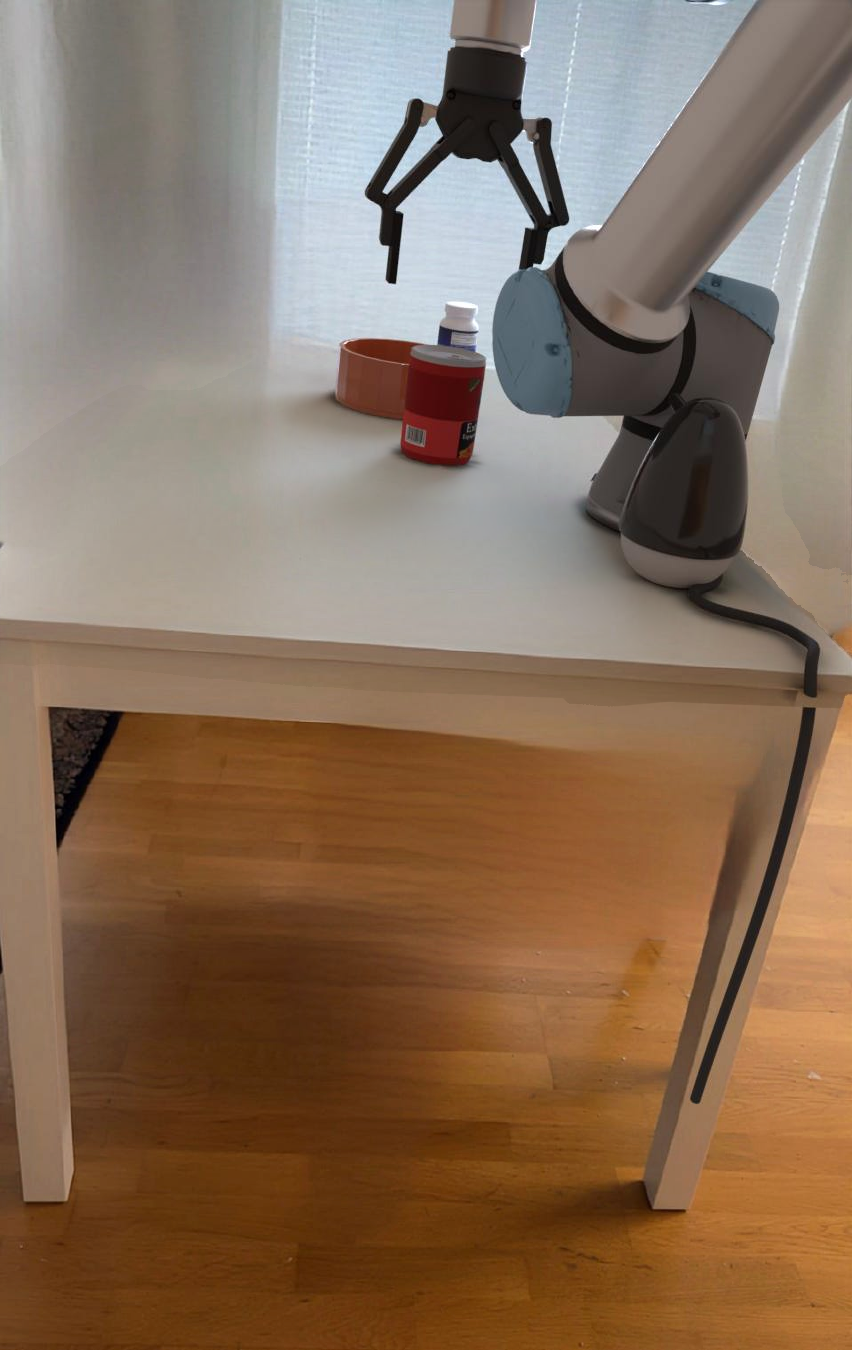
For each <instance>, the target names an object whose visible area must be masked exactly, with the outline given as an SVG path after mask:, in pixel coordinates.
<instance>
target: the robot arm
mask: <svg viewBox="0 0 852 1350" xmlns="http://www.w3.org/2000/svg"><path fill="white" fill-rule="evenodd" d="M537 1H538V0H453V8H452V15H451V23H450V31H449V38H450V39H451V40H452V41H453V42H455V44H454V46H452V47H450V48H449V50H447V54H446V63H445V64H446V65H445V70H444V71H445V73H444V80H443V87H442V89H443V90H442V96H441V98H440V101H439V103H438V104H437V105H436V104H432V103H428V102H424V101H423V100H422V98H415V97H414V98H411V99H410V100H409V101H407V107H406V110H405V116H404V121H403V124H402V125H401V127H400V129H399V131H398V132H397V135H396V136H395V138H394V140H393V141H392V142H391V144H390V146H389V148H388V150H387V152H386V153H385V155H384V156H383V158H382V160H381V162H380V163H379V165H378V167H377V168H376V170H375V172H374V174H373V175H372V177H371V179H370V181H368V184H367V186H366V187H365V189H364V196H365V198H366V199H367V200H369V201H370V202H372V203H374V204H376V205H378V206H379V208H380V210H381V215H380V224H379V233H378V239H379V240H378V241H379V244H380V245H381V246H383V247H384V246H385V247H388V252H387V261H386V271H385V281H386V282H387V283H388V284H390V285H397V278H398V270H399V263H400V262H399V260H400V253H401V252H400V251H401V243H402V242H401V241H402V235H403V226H404V225H403V223H404V213H403V212H402V211H400V210H397V208H398V207H399V206H400V205H401V204H402V203H403V202H404V201H405V200H406V199H407V198H408V197H409V196H410V195H411V194H412V193H413V192H414V191H415V190H416V189H417V188H418V187H419V186H420V185H421V183H422V182H423V181H425V180H426V179H427V177H429V176H430V174H432V172H433V171H435V169H437V167H438V166H439V165H440V164H441V163H443V162H444V161H445V160H446V159H447V158H448V157H450V155H453V156H454V157H456V158H457V159H461V160H463V159H464V160H474V159H475V160H477V161H480V162H484V163H485V162H486V163H493V162H495V161H497V162H498V164H499V166H500V167H501V168H502V169H503V170H504V173H505V175H506V177H507V178H508V180H509V182H510V184H511V186H512V187H513V190H514V191H515V193H516V195H517V197H518V199H519V201H520V202H521V204H522V206H523V208H524V210H525V211H526V214H527V215H528V217H529V219H530V221H531V222H532V225H533V227H524V233H523V239H522V246H521V252H520V258H519V265H518V270H517V271H515V272H513V273H512V274H511V275H510V276H509V277H508V278H507V279H506V281H504V284H503V286H502V287H501V289H500V292H499V294H498V296H497V299H496V302H495V307H494V311H493V317H492V326H491V327H492V329H491V333H492V334H491V335H492V343H491V344H492V356H493V362H494V363H493V364H494V368H495V371H496V375H497V378H498V381H499V384H500V386H501V388H502V390H503V393H504V394H505V396H506V398H507V399H508V400H509V402H510V403H511V404H512V405H513V406H514V407H515V408H517V410H520V412H521V411H522V412H524V413H526V414H529V415H535V416H536V415H538V416H549V417H551V418H553V419H560V418H563V417H621V416H622V421H621V426H620V430H619V433H618V435H617V438H616V440H615V441H614V443H613V445H612V446H611V448H610V450H609V452H608V454H607V455H606V456H605V458H604V461H603V463H602V464H601V466H600V468H599V470H598V471H597V473H594V474H593V476H592V478H591V479H590V481H589V482H590V483H591V484H590V487H589V489H588V492H587V498H586V503H585V509H586V512H587V513H588V514H589V515H590V516H591V517H592V518H593V519H595V520H596V521H597V522H599V523H601V524H603V525H605V526H607V527H608V528H610V529H613V530H615V531H617V532H620V530H619V527H618V525H619V519H620V515H621V512H622V508H623V506H624V503H625V500H626V497H627V495H628V492H629V489H630V487H631V484H632V482H633V480H634V477H635V475H636V473H637V471H638V469H639V467H640V465H641V463H642V461H643V459H644V457H645V455H646V453H647V452H648V450H649V448H650V446H651V444H652V443H653V441H654V439H655V438H656V436H657V435H658V433H659V432H660V430H661V429H662V427H663V426H664V424H665V423H666V422H667V421H668V419H669V418H670V417H671V416H672V415H673V414H674V411H673V409H672V408H671V406H670V404H669V402H668V398H669V396H670V395H671V394H672V393H679V394H680V395H681V397H682V398H683V399H684V400H685V401H686V402H688V401H691V400H693V399H696V398H701V397H712V398H717V399H719V400H722V401H724V402H725V403H727V404H728V405H729V406H731V407H732V408H733V410H734V411H735V412H736V414H737V415H738V418H739V420H740V423H741V426H742V429H743V432H744V437H745V442H747V439H748V435H749V431H750V427H751V423H752V420H753V416H754V413H755V409H756V406H757V401H758V398H759V395H760V392H761V387H762V384H763V380H764V377H765V373H766V369H767V366H768V362H769V358H770V354H771V351H772V347H773V345H774V344H775V342H776V341H775V340H776V335H775V332H776V326H777V322H778V317H779V312H780V301H779V299H778V296H777V295H776V293H775V292H774V291H773V290H772V289H770V288H768V287H766V286H762V285H758V284H755V283H751V282H748V281H744V280H740V279H737V278H734V277H729V276H725V275H722V274H718V273H714V272H710V271H709V270H710V269H711V268H712V267H713V266H714V264H715V263H716V261H717V260H718V259H719V258H720V257H721V256H722V254H724V252H725V251H726V250H727V248H729V246H730V245H731V244H732V242H733V241H735V239H736V238H737V237H738V236H739V234H740V233H741V232H742V230H743V229H744V228H746V226H747V225H748V223H749V222H750V221H751V220H752V219H753V217H754V216H755V215H756V214H757V213H758V211H760V209H761V208H762V207H763V205H764V204H765V203H766V202H767V200H768V199H769V198H770V197H771V196H772V194H773V193H774V192H775V191H776V190H777V189H778V187H780V185H781V184H782V182H784V180H785V179H786V178H787V176H788V175H790V173H791V172H792V171H793V169H794V168H795V167H796V166H797V164H799V162H800V161H801V160H802V159H803V158H804V156H805V155H806V154H807V153H808V151H809V150H810V149H811V148H812V147H813V145H814V144H815V143H816V142H817V141H818V140H819V138H820V137H821V136H822V135H823V133H824V132H825V131H826V130H827V129H828V127H830V125H831V124H832V123H833V122H834V120H835V119H836V118H837V117H838V116H839V114H840V113H841V112H842V111H843V110H844V108H845V107H846V106H847V104H848V103H850V101H851V100H852V0H755V2H754V4H753V5H752V6H751V8H750V9H749V10H748V12H747V14H746V15H745V17H744V18H743V20H742V21H741V22H740V24H739V25H738V27H737V28H736V29H735V31H734V33H732V35H731V37H730V39H729V40H728V41H727V43H726V44H725V45H724V47H723V48H722V50H721V52H720V53H719V54H718V56H717V57H716V59H715V60H714V62H713V63H712V65H711V66H710V68H709V69H708V70H707V71H706V73H705V75H704V76H703V77H702V79H701V80H700V82H699V83H698V85H697V87H696V88H695V90H694V91H693V92H692V93H691V94H690V97H689V98H688V100H687V101H686V103H685V104H684V105H683V107H682V108H681V109H680V111H679V113H678V114H677V115H676V117H675V119H674V120H673V121H672V123H671V124H670V126H669V127H668V129H667V130H666V131H665V133H664V134H663V135H662V137H661V139H660V140H659V142H658V143H657V144H656V146H655V148H654V149H653V150H652V152H651V153H650V155H649V156H648V157H647V159H646V160H645V162H644V163H643V165H642V166H641V168H640V170H639V171H638V172H637V173H636V175H635V177H634V178H633V180H632V181H631V183H629V185H628V187H626V190H625V191H624V192H623V193H622V196H621V197H620V198H619V200H618V202H617V203H616V205H615V206H614V207H613V209H612V210H611V211H610V213H609V215H608V216H607V217H606V219H605V220H604V222H603V223H602V224H601V225H600V224H598V225H597V224H596V225H589V226H585V227H583V228H580V229H579V230H577V231H575V232H574V234H572V235H571V236H570V237H569V238H568V240H567V242H566V244H565V245H564V247H563V248H562V250H561V251H560V252H559V254H558V255H557V256H556V258H555V260H554V261H553V262H552V264H551V265H550V266H549V267H548V268H546V269H540V268H539V267H537V266H534V265H543V262H544V261H545V260H544V259H545V253H546V249H547V242H548V238H549V237H548V236H549V233H550V231H551V230H552V229H554V228H559V227H565V226H567V225H568V224H569V223H570V214H569V211H568V207H567V202H566V199H565V194H564V191H563V187H562V184H561V179H560V174H559V172H558V168H557V164H556V163H557V162H556V159H555V155H554V151H553V148H552V132H553V122H552V120H551V118H549V117H546V116H545V117H544V116H543V117H541V116H539V117H537V118H524V117H523V114H522V105H523V104H522V103H523V96H524V90H525V85H526V76H527V71H528V64H529V62H528V61H527V59H526V57H523V55H524V52H527V51H529V49H531V43H532V37H533V29H534V21H535V15H536V8H537ZM684 1H685V2H687V3H690V4H699V5H700V4H701V5H702V4H703V5H713V6H722V5H726V4H729V3H731V2H733V1H734V0H684ZM431 119H435V122H436V125H437V126H438V128H439V131H440V133H441V135H442V136H441V137H440V138H439V139H438V140H437V141H436V142H435V143H433V145H432V146H431V147H430V149H429V150H428V151H427V153H425V154H424V156H422V158H420V160H418V162H417V163H416V164H415V165H414V166H413V167H412V168H411V169H410V170H409V171H408V172H407V173H406V174H405V175H404V176H403V177H402V178H401V179H400V180H399V181H398V182H397V183H396V184H395V185H394V186H393V187H392V188H391V190H389V191H388V192H387V193H386V192H384V190H385V188H386V187H387V185H388V183H389V182H390V180H391V178H392V176H393V174H394V173H395V171H396V170H397V168H398V167H399V165H400V163H401V162H402V160H403V158H404V156H405V155H406V152H407V151H408V149H409V148H410V145H411V144H412V142H413V141H414V139H415V138H416V136H417V133H418V131H419V128H423V127H426V126H427V125H428V123H429V121H430V120H431ZM522 132H524V133H525V135H526V139H527V141H528V142H529V143H530V144H532V147H533V152H534V157H535V161H536V165H537V169H538V172H539V176H540V180H541V184H542V188H543V191H544V194H545V199H546V203H547V207H548V210H549V213H547V212H546V210H545V208H544V206H543V204H542V202H541V201H540V199H539V197H538V195H537V193H536V191H535V190H534V187H533V186H532V184H531V182H530V179H529V178H528V176H527V175H526V172H525V171H524V169H523V167H522V165H521V163H520V160H519V158H518V156H517V154H516V152H515V150H514V148H513V146H512V144H513V143H514V142H515V141H516V140H517V138H518V137H519V136H520V135H521V134H522ZM723 575H724V574H723V573H722V574H721V575H720V576H719V577H718V578H716V579H715V580H713V581H712V582H709V583H705V584H695V585H693V586H692V587H690V588H688V591H687V597H688V599H689V601H690V602H691V603H692V604H693V605H695V606H696V607H698V608H699V609H701V610H703V611H705V612H708V613H710V614H713V615H717V616H719V617H722V618H727V619H731V620H735V621H738V622H739V621H740V622H743V623H748V624H751V625H755V626H758V627H763V628H766V629H771V630H772V631H776V632H779V633H781V634H783V635H785V636H787V637H789V638H791V639H792V640H794V641H795V642H797V643H798V644H800V645H801V646H803V647H804V648H805V649H806V656H805V661H804V671H803V693H804V695H805V696H807V697H809V698H811V699H815V698H817V696H818V668H819V667H818V666H819V660H820V653H821V648H820V644H819V642H818V641H816V639H814V638H813V637H811V636H810V635H808V634H807V633H805V632H803V631H802V630H801V629H799V628H797V627H796V626H794V625H792V624H790V623H788V622H785V621H783V620H781V619H778V618H774V617H770V616H767V615H763V614H760V613H756V612H751V611H747V610H743V609H739V608H734V607H731V606H727V605H723V604H720V603H717V602H715V601H711V600H709V599H707V598H705V597H704V596H702V595H701V594H703V593H705V592H709V591H711V590H713V589H715V588H717V587H718V586H720V585H721V583H722V582H723V577H724V576H723ZM801 710H802V711H801V718H800V719H801V720H800V725H799V726H800V727H799V732H798V738H797V743H796V747H795V753H794V757H793V762H792V768H791V772H790V776H789V781H788V785H787V790H786V792H785V793H786V794H785V798H784V802H783V807H782V810H781V813H780V817H779V822H778V826H777V830H776V833H775V838H774V841H773V845H772V848H771V852H770V856H769V859H768V863H767V866H766V870H765V872H764V876H763V879H762V883H761V886H760V888H759V889H760V890H759V892H758V895H757V899H756V901H755V905H754V908H753V911H752V913H751V917H750V921H749V923H748V926H747V929H746V933H745V935H744V938H743V941H742V944H741V947H740V950H739V953H738V956H737V959H736V962H735V964H734V967H733V970H732V973H731V976H730V979H729V981H728V984H727V987H726V989H725V993H724V995H723V998H722V1000H721V1004H720V1007H719V1010H718V1012H717V1014H716V1018H715V1020H714V1024H713V1027H712V1029H711V1033H710V1035H709V1038H708V1041H707V1045H706V1047H705V1051H704V1052H703V1057H702V1059H701V1063H700V1065H699V1068H698V1072H697V1075H696V1077H695V1081H694V1084H693V1086H692V1090H691V1093H690V1097H689V1101H690V1102H691V1103H692V1104H695V1105H699V1104H700V1103H701V1101H702V1098H703V1095H704V1092H705V1089H706V1085H707V1082H708V1079H709V1077H710V1073H711V1070H712V1067H713V1065H714V1061H715V1060H716V1059H715V1058H716V1056H717V1053H718V1049H719V1047H720V1045H721V1041H722V1039H723V1035H724V1033H725V1030H726V1027H727V1024H728V1022H729V1019H730V1015H731V1013H732V1010H733V1008H734V1005H735V1003H736V1000H737V997H738V993H739V991H740V988H741V986H742V983H743V980H744V976H745V974H746V971H747V969H748V966H749V963H750V961H751V957H752V955H753V952H754V949H755V947H756V942H757V940H758V937H759V934H760V931H761V929H762V926H763V923H764V920H765V916H766V914H767V911H768V908H769V904H770V901H771V898H772V896H773V892H774V889H775V886H776V882H777V879H778V876H779V873H780V870H781V866H782V862H783V859H784V855H785V853H786V852H785V851H786V848H787V845H788V841H789V838H790V833H791V830H792V826H793V822H794V819H795V814H796V811H797V808H798V807H797V806H798V802H799V799H800V794H801V789H802V786H803V781H804V776H805V773H806V769H807V768H806V767H807V765H808V764H807V762H808V759H809V753H810V750H811V749H810V748H811V743H812V738H813V732H814V726H815V720H816V711H817V707H815V706H814V707H811V706H810V707H809V706H803V707H802V709H801Z"/></svg>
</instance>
